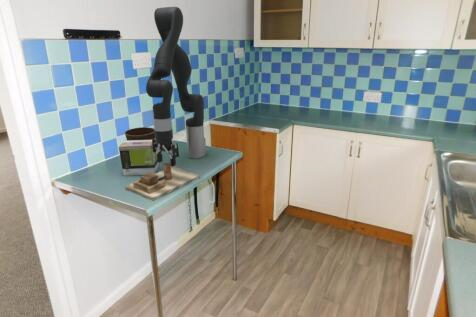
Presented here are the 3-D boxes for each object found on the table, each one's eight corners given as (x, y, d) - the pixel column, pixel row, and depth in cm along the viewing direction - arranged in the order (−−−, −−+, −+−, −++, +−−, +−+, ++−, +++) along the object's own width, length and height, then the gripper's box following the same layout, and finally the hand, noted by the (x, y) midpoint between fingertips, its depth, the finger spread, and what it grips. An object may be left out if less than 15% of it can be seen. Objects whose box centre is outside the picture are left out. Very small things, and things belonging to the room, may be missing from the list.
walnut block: (167, 176, 145) (165, 161, 143) (174, 178, 142) (173, 164, 140) (141, 187, 135) (139, 172, 132) (149, 190, 132) (147, 174, 129)
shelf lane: (172, 168, 156) (172, 161, 155) (199, 177, 146) (199, 170, 145) (125, 188, 136) (124, 181, 135) (153, 200, 126) (152, 192, 125)
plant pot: (149, 166, 159) (146, 136, 153) (123, 164, 162) (118, 134, 156) (163, 156, 172) (160, 128, 167) (138, 154, 176) (134, 126, 170)
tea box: (159, 167, 158) (156, 138, 153) (155, 175, 149) (151, 145, 144) (128, 167, 158) (124, 139, 153) (122, 176, 149) (118, 146, 143)
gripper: (181, 128, 133) (184, 164, 139) (159, 124, 141) (162, 158, 147) (168, 132, 127) (171, 170, 133) (145, 127, 135) (149, 163, 141)
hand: (166, 163), depth 140 cm, fingers open, 8 cm apart
